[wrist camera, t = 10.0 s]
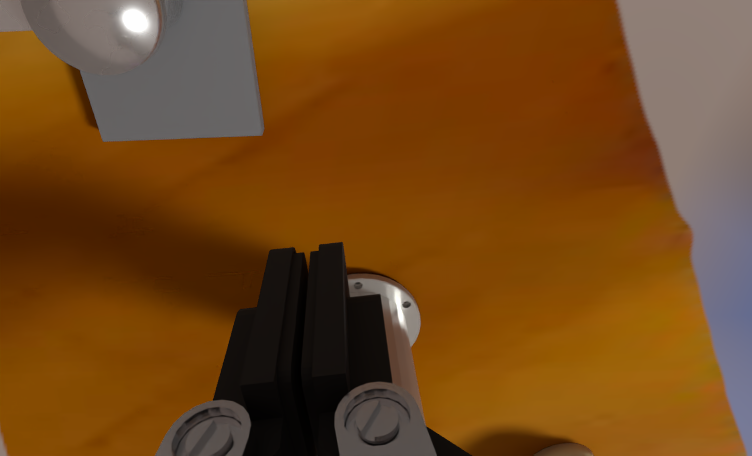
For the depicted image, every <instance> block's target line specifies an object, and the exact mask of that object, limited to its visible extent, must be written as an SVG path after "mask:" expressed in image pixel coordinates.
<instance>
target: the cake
mask: <svg viewBox="0 0 752 456" xmlns="http://www.w3.org/2000/svg"><path fill="white" fill-rule="evenodd" d="M533 456H594V455H593V454H592V452H591V450H590V449H589V448H587V447H586V446H584V445H580V444H577V443H563V444H557V445H553V446H550V447H547V448H545V449H542V450H541V451H539V452H537V453H536V454H534V455H533Z"/></svg>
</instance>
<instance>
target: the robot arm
mask: <svg viewBox="0 0 752 456" xmlns="http://www.w3.org/2000/svg"><path fill="white" fill-rule="evenodd" d="M420 325H421V322H420V313H419V309H418V306H417V303H416V301H415V299H414V297H413V296H412V295H411V294H410V292H409V291H408V290H407V289H406V288H404V287H403V286H402V285H401V284H399V283H397V282H395V281H393V280H391V279H389V278H386V277H383V276H380V275H374V274H367V273H364V274H350V275H347V270H346V262H345V255H344V248H343V242H339V243H329V244H320V245H319V251H312V252H311V253H310V264H309V274H308V269H307V264H306V258H305V254H304V252H303V253H296V250H295V248H294V247H292V248H283V249H273V250H270V251H269V255H268V260H267V264H266V269H265V273H264V278H263V282H262V287H261V291H260V296H259V300H258V305H257V307H255V308H246V309H240V310H239V311H238V313H237V315H236V318H235V322H234V326H233V329H232V333H231V337H230V340H229V344H228V347H227V351H226V355H225V358H224V362H223V366H222V369H221V373H220V377H219V380H218V384H217V387H216V391H215V395H214V398H213V401H209V402H206V403H203V404H201V405H198V406H196V407H194V408H192V409H191V410H189V411H187V412H186V413H184V414H183V415H182V416H181V417H180V418H179V419H178V420H177V421H176V422H175V423H174V424H173V425H172V426H171V428H170V429H169V431H168V432H167V434H166V435H165V437H164V439H163V441H162V443H161V445H160V447H159V449H158V451H157V453H156V455H155V456H472V455H470V454H469V453H467V452H465V451H464V450H462V449H461V448H459V447H458V446H456V445H455V444H453V443H451V442H450V441H448V440H447V439H445V438H444V437H442V436H440V435H439V434H437V433H436V432H434V431H433V430H431V429H430V428H428V427H426V425H425V420H424V414H423V409H422V404H421V399H420V394H419V388H418V383H417V378H416V373H415V368H414V362H413V357H412V352H411V347H412V345H413V344H414V342H415V341H416V339H417V336H418V334H419V330H420Z"/></svg>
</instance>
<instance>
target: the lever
mask: <svg viewBox="0 0 752 456" xmlns="http://www.w3.org/2000/svg"><path fill="white" fill-rule="evenodd" d="M182 7H183V0H0V32H4V31H28V30H33V31H34V33H35V34H36V36H37V37H38V38H39V40H40V41H41V42H42V43H43V44H44V45H45V46H46V47H47V48H48V49H49V50H50V51H51V52H52V53H53V54H54V55H56V56H57V57H58V58H60V59H61V60H63V61H64V62H66V63H67V64H69V65H71V66H73V67H75V68H77V69H80V70H82V71H85V72H88V73H92V74H98V75H117V74H122V73H125V72H128V71H130V70H132V69H134V68H136V67H137V66H139V65H141V64H142V63H144V62H145V61H147V60H149V59H150V58H151V57H152V56H153V55H154V54H155V53H156V52H157V50H158V49H159V47H160V46H161V44H162V42H163V39H164V36H165V32H166V29H167V28H169V27H170V26H172V25H173V24H174V23H175V22H176V21H177V20H178V18H179V16H180V14H181V12H182Z"/></svg>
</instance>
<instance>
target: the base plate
mask: <svg viewBox="0 0 752 456" xmlns="http://www.w3.org/2000/svg"><path fill="white" fill-rule="evenodd" d="M79 70H80V69H79ZM80 73H81V76H82V79H83V82H84V85H85V88H86V91H87V94H88V97H89V100H90V103H91V106H92V109H93V112H94V116H95V119H96V122H97V125H98V128H99V131H100V134H101V137H102V140H103V142H105V141H131V140H156V139H182V138H208V137H234V136H260V135H262V134H263V131H264V123H263V116H262V109H261V102H260V94H259V87H258V80H257V73H256V66H255V59H254V52H253V44H252V37H251V30H250V23H249V16H248V9H247V2H246V0H183V7H182V12H181V14H180V16H179V18H178V20H177V21H176V22H175V23H174V24H173V25H172V26H170V27H169V28H167V29H166V32H165V36H164V39H163V42H162V44H161V46H160V47H159V49H158V50H157V52H156V53H155V54H154V55H153V56H152V57H151V58H150V59H149V60H147V61H145V62H144V63H142V64H141V65H139V66H137V67H136V68H134V69H132V70H130V71H128V72H125V73H122V74H117V75H98V74H92V73H88V72H85V71H82V70H80Z"/></svg>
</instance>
